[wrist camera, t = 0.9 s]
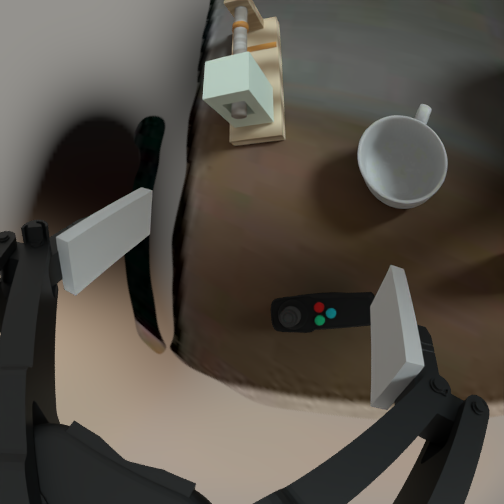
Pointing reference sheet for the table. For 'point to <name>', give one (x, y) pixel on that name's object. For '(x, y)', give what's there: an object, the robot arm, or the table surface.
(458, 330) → the table surface
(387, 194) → the teacup
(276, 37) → the lead screw slider
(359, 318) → the controller
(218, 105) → the sleeve
